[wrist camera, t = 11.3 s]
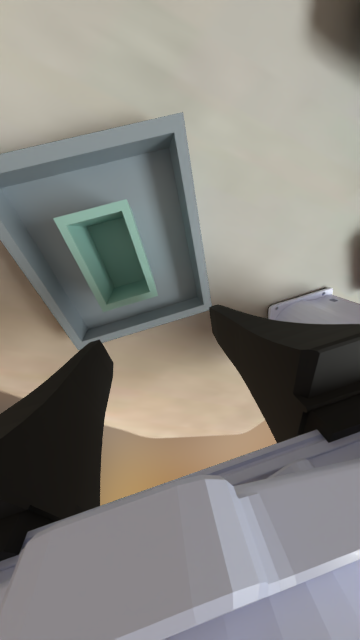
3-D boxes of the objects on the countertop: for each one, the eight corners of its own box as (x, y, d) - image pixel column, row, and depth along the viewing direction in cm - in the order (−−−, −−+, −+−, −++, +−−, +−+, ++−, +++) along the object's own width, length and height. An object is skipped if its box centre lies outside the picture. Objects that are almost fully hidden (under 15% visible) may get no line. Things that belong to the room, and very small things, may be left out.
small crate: (131, 208, 15) (126, 199, 10) (154, 279, 18) (158, 295, 13) (80, 222, 14) (52, 218, 10) (112, 292, 18) (103, 312, 13)
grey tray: (175, 135, 13) (182, 112, 11) (203, 299, 21) (212, 309, 18) (-12, 179, 13) (-52, 166, 10) (86, 334, 20) (78, 350, 17)
